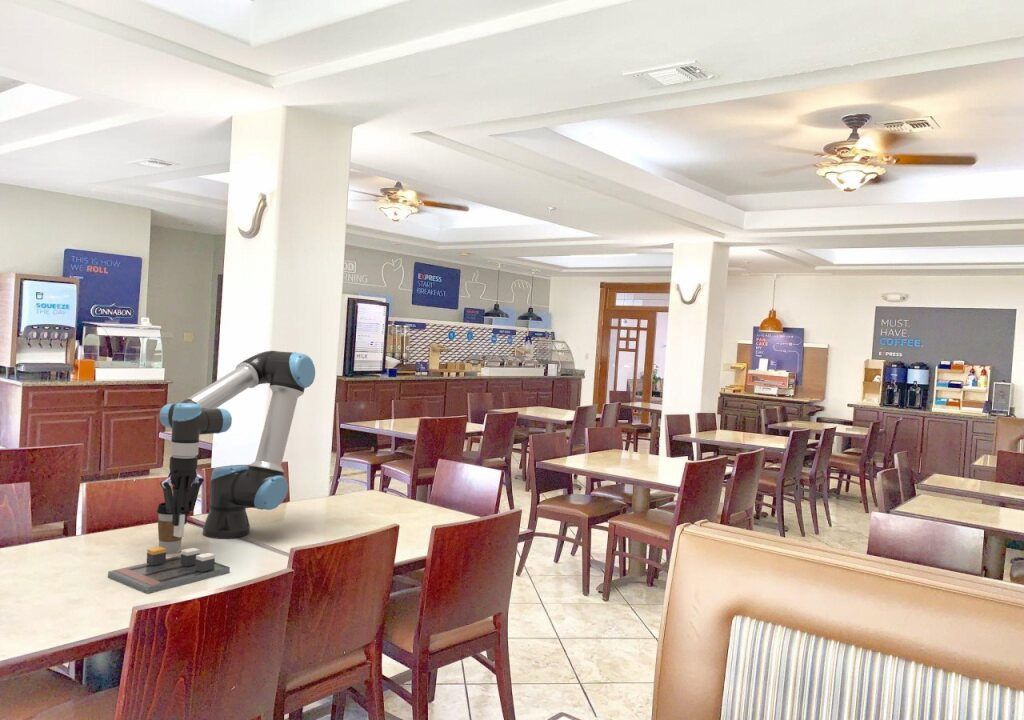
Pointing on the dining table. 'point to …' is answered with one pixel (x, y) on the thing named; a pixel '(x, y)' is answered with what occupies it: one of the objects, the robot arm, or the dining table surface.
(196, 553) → the block
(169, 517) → the coffee cup
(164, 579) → the panel
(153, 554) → the block
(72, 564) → the dining table surface
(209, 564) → the block
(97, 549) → the dining table surface
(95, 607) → the dining table surface
